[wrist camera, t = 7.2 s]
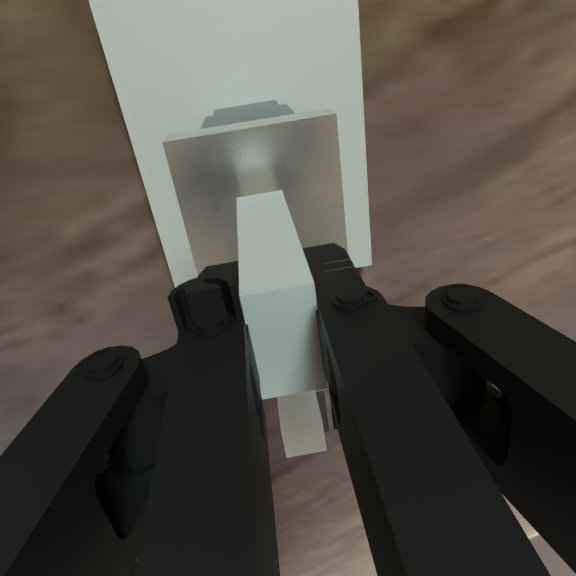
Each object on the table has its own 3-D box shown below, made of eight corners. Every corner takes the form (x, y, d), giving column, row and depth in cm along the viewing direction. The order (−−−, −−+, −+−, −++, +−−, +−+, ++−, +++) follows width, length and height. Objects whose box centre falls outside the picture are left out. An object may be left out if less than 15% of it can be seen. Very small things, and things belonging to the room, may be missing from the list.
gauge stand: (181, 285, 34) (135, 498, 18) (98, 3, 25) (-136, -69, 9) (364, 253, 34) (478, 434, 18) (347, -35, 25) (537, -168, 9)
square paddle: (231, 295, 29) (230, 396, 21) (187, 107, 23) (162, 142, 15) (322, 279, 29) (357, 373, 21) (300, 89, 24) (336, 113, 15)
